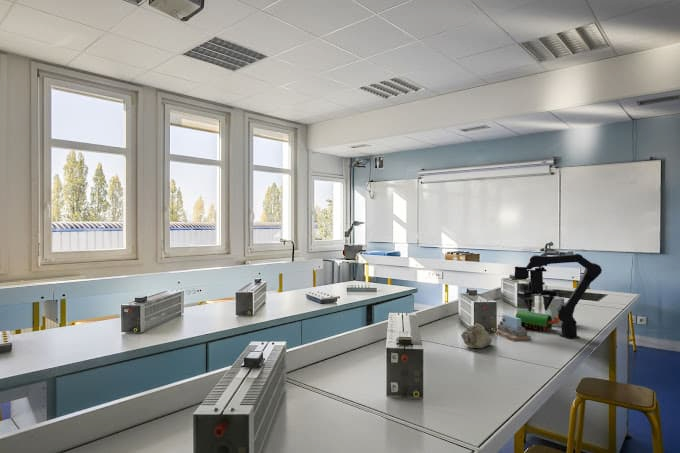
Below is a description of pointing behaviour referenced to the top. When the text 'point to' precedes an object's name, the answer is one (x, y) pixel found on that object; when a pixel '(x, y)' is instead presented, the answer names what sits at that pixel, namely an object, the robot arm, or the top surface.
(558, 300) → the circuit breaker
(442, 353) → the top surface
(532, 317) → the motor
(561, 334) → the robot arm
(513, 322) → the cabinet door
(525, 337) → the cabinet base
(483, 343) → the lumpy boulder
